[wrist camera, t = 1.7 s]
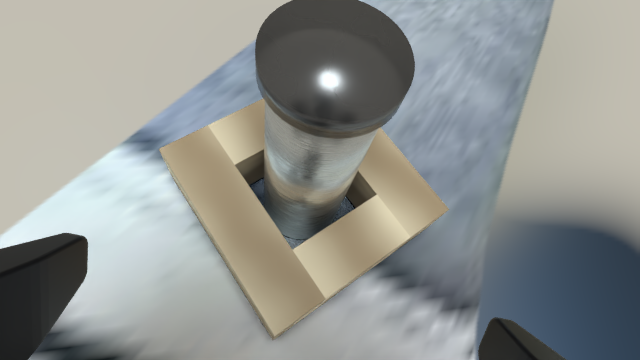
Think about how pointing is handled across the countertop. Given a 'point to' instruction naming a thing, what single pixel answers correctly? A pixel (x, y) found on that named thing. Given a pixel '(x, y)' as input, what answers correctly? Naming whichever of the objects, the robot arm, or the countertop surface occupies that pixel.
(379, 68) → the capped cylinder
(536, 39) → the countertop surface
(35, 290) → the robot arm
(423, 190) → the housing
